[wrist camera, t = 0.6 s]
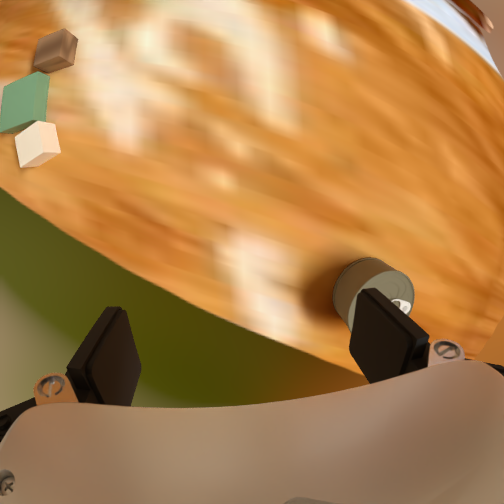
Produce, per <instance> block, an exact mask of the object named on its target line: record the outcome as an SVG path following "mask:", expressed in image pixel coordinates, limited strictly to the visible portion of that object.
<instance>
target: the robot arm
mask: <svg viewBox="0 0 504 504" xmlns="http://www.w3.org/2000/svg"><path fill="white" fill-rule="evenodd" d="M428 339H429V335H428V334H427V333H426V332H425V331H424V330H423V329H422V328H421V327H420V326H418V325H417V324H416V323H415V322H414V321H413V320H412V319H411V318H410V317H409V316H407V315H406V314H405V313H404V312H403V311H402V310H401V309H400V308H398V307H397V306H396V305H395V304H394V303H393V302H392V301H390V300H389V299H388V298H387V297H386V296H385V295H383V294H382V293H381V292H380V291H379V290H378V289H377V288H375V287H374V288H366V289H362V290H361V292H360V293H358V294H357V299H356V306H355V313H354V320H353V327H352V333H351V339H350V344H349V350H350V353H351V355H352V357H353V358H354V360H355V361H356V363H357V364H358V366H359V367H360V369H361V371H362V372H363V374H364V375H365V377H366V378H367V380H368V381H369V383H370V384H368V385H364V386H360V387H356V388H352V389H348V390H343V391H339V392H334V393H329V394H324V395H318V396H313V397H307V398H301V399H294V400H288V401H280V402H272V403H264V404H254V405H244V406H232V407H212V408H148V407H131V403H132V399H133V396H134V392H135V389H136V386H137V382H138V379H139V376H140V373H141V363H140V359H139V356H138V353H137V349H136V346H135V343H134V339H133V335H132V332H131V328H130V324H129V320H128V316H127V313H126V311H125V310H122V308H121V307H106V309H105V310H104V311H103V313H102V314H101V316H100V317H99V318H98V320H97V321H96V323H95V324H94V326H93V327H92V329H91V330H90V332H89V333H88V335H87V336H86V338H85V339H84V341H83V342H82V344H81V345H80V347H79V348H78V350H77V352H76V353H75V355H74V356H73V358H72V359H71V361H70V362H69V364H68V366H67V372H66V374H65V375H64V374H61V373H51V374H47V375H45V376H43V377H41V378H40V379H39V380H38V381H37V382H36V383H35V386H34V396H35V397H34V398H31V399H30V400H27V401H25V402H22V403H20V404H18V405H15V406H13V407H10V408H8V409H6V410H3V411H1V412H0V504H504V367H503V366H501V365H495V364H490V363H485V362H481V361H475V360H471V359H466V358H465V357H464V350H463V348H462V347H461V346H460V345H459V344H458V343H456V342H454V341H452V340H448V339H437V340H435V341H433V342H432V343H431V344H430V343H429V342H428Z"/></svg>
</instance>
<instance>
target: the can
mask: <svg viewBox="0 0 504 504" xmlns="http://www.w3.org/2000/svg"><path fill="white" fill-rule="evenodd" d="M374 287H375V288H377V289H378V290H379V291H380V292H381V293H382V294H383V295H385V296H386V297H387V298H388V299H389V300H390V301H392V302H393V303H394V304H395V305H396V306H397V307H398V308H400V309H401V310H402V311H403V312H404V313H405V314H406V315H407V316H409V315H410V312H411V310H412V307H413V303H414V296H415V295H414V287H413V284H412V282H411V280H410V279H409V277H408V276H407V275H405V274H404V273H402V272H400V271H397V270H395V269H394V268H392V267H391V266H389V265H387V264H386V263H384V262H383V261H381V260H379V259H377V258H363V259H360V260H357V261H355V262H353V263H352V264H350V265H349V266H348V267H347V268H346V269H345V270H344V271H343V272H342V273H341V274H340V276H339V277H338V279H337V281H336V283H335V286H334V290H333V304H334V307H335V310H336V311H337V313H338V314H339V315H340V316H341V318H342V319H343V321H344V322H345V323H346V325H347V326H348V328H349V330H350V332H351V333H352V327H353V320H354V313H355V306H356V299H357V294H358V293H360V292H361V290H362V289H366V288H374Z"/></svg>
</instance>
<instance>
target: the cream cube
mask: <svg viewBox="0 0 504 504" xmlns="http://www.w3.org/2000/svg"><path fill="white" fill-rule="evenodd" d="M15 142H16V148H17V154H18V159H19V164H20V168H23V167H37V166H40V165H41V164H43V163H45V162H46V161H48V160H49V159H51V158H53V157H55V156H56V155H58V154H60V153H61V151H60V146H59V142H58V137H57V132H56V127H55V124H52V123H47V122H42V121H37V122H35V123H34V124H32V125H31V126H29V127H28V128H27V129H25V130H24V131H22V132H21V133H20V134H18V135H17V136H16V137H15Z"/></svg>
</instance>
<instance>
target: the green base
mask: <svg viewBox="0 0 504 504" xmlns="http://www.w3.org/2000/svg"><path fill="white" fill-rule="evenodd" d="M49 79H50V76H48V75H45V74H43V73H41V72H39V71H38V72H35V73H33V74H30V75H28V76H26V77H24V78H21V79H19V80H17V81H15V82H13V83H11V84H9V85H7V86H5V87H4V90H3V97H2V105H1V115H0V133H10V134H13V133H15V132H18V131H21V130H24V129H27V128H28V127H29V126H31V125H32V124H34V123H35V122H37V121H42V122H46V109H47V97H48V88H49Z"/></svg>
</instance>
